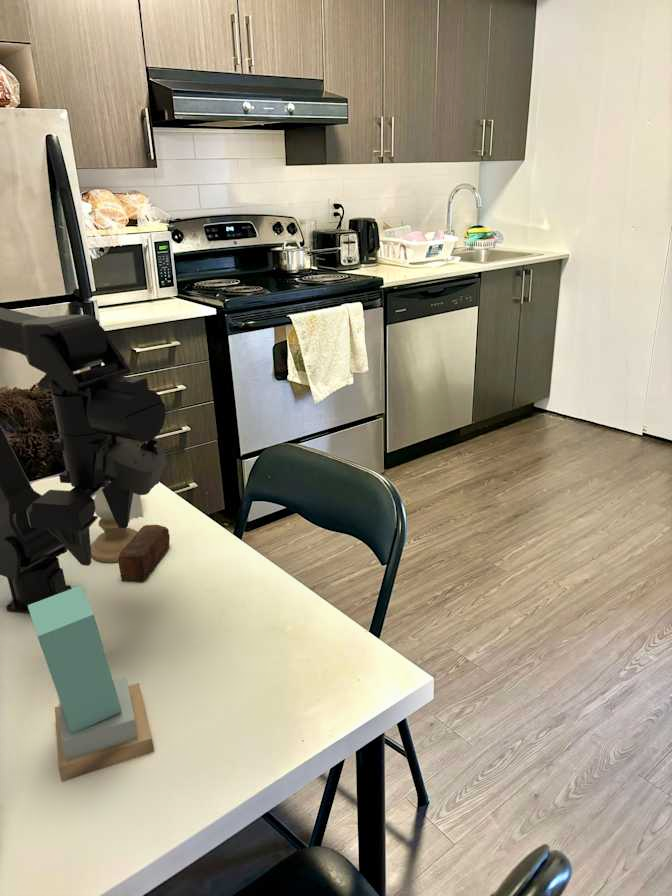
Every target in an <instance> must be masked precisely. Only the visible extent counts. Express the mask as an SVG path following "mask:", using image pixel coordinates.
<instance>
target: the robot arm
mask: <svg viewBox="0 0 672 896" xmlns="http://www.w3.org/2000/svg"><path fill="white" fill-rule="evenodd" d="M0 349H2V350H3V349H4V350H7V351H11V352H14V353H18V354H21V355H23V356H24V357H25V358H26V360H27V364H28V365H29V366H30V367H32V368H35V369H36V370H38V371H40V372H43V373H44V374H45V375H44V376H43V377H42V378H41V379H40V380H39V381H38V382H37V386H38V388H39V389H42V390H48V391H50V392H51V399H52V403H53V409H54V414H55V419H56V424H57V430H58V435H59V437H58V438H56V439H54V440H53V441H52V445H53V446H52V447H53V451H62V455H63V460H64V466H65V470H64V471H62V472H61V473H59V474H58V477H59V481H60V483H62V484H71V486H72V487H73V488H72V489H70V490H62V489H49V490H48V491H46V492H45V493H43V494H41V493H39V492H37V491H36V490H34V488H33V487H32V485H31V483H30V481H29V479H28V477H27V476H26V472H25V471H24V469H23V467H22V465H21V463H20V461H19V459H18V457H17V454H16V453H15V451H14V450H13V448H12V445H11V444H10V442H9V440H8V438H7V436H6V434H5V431H4V429H3V428H2V426H1V424H0V576H2V577H4V578H7V582H8V586H9V589H10V594H11V599H12V600H11V601H10V602H9V603H8V604H6V605H5V609H6V611H9V612H19V613H21V612H22V613H27V614H30V612H29V609H28V605H30V604H32V603H35V602H38V601H40V600H43V599H46V598H48V597H51V596H54V595H56V594H59V593H62V592H65V591H67V590H70V589H73V588H72V586H71V585H68V584H67V583H66V578H65V574H64V569H63V568H61V566H60V562H59V558H58V557H59V556H61V555H62V554H65V553H67V552H68V551H69V553H70V554H71V555H72V556H73V557H74V558H75V560H76V561H77V562H78V563H79V564H80V565H81V566H86V567H87V566H89V567H90V565H91V564H92V556H91V535H90V533H91V532H90V527H91V526H92V525H93V524H94V523H95V522H96V520H97V519H98V518H99V516H97V515H96V516H95V509H96V508H95V502H94V498H95V495H96V494H97V493H98V492H99V491H101V490H102V491H103V494H104V496H105V498H106V501H107V503H108V505H109V508H110V510H111V513H112V515H113V517H114V519H115V521H116V523H117V525H118V527H119V528H129V523H130V521H129V516H130V510H131V504H132V498H133V493H135V494H138V495H140V496H146V495H148V494H149V493H150V492H151V490H152V489H153V488H154V487H155V486H156V485H158V484H159V483H160V480H161V477H162V472H163V469H164V468H165V467H166V466H167V465H168V460H167V455H166V453H165V447H164V444H163V443H164V442H163V440H161V439H159V438H156V437H157V436H158V435H159V434H160V432H161V430H163V426H164V424H165V421H166V405H165V403H164V402H163V400H162V398H161V396H160V395H159V393H158V392H156V390H153V389H150V388H149V384H148V379H147V378H145V377H140V376H139V377H138V376H136V377H128V375H131V373H132V371H131V369H130V367H129V365H128V364H127V361H125V357H124V356H123V355H122V354H121V352H119V350H118V349H117V347H116V345H115V343H113V341H112V340H111V338H110V335H108V333H107V332H106V330H105V329H104V328H103V326H101V325H100V321H99V319H97V318H95V317H94V316H92V315H90V314H66V315H57V316H56V315H54V316H38V315H34V314H29V313H25V312H21V311H17V310H12V309H8V308H4V307H0ZM100 364H103V365H100ZM97 365H100V366H97ZM95 366H97V367H95ZM91 367H94V368H91ZM87 368H91V369H87ZM84 369H87V370H84ZM81 370H84V371H81ZM77 371H81V372H77ZM76 372H77V373H76ZM123 439H126V440H129V441H130V440H131V441H135V443H134V444H133V443H131V444H130V443H125V441H124V440H123ZM136 441H137V442H141V443H142V444H139V443H137V442H136ZM93 497H94V498H93ZM128 522H129V523H128Z"/></svg>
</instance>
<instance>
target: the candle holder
mask: <svg viewBox="0 0 672 896" xmlns="http://www.w3.org/2000/svg"><path fill="white" fill-rule="evenodd" d="M93 499H94V502H95V508H96V509H95V512H94V514H96V516H98V518H100V519H99V520H98V524H97V525H98V526H99V528H101V529H102V530H103V532H102V533H100V534H99V535H98V536H97V537H96V538H95V540H94V541H93V542H92V543H90V545H91V559H93V560H95V561H98V562H99V563H100V562H101V563H118V559H119V554H120V553H121V551H122V550H123V549H124V548H125V546H127V544H128V543H129V542H130V541H131V540H132V539H133V537H134V536H135V535H136V534H137V533H138V530H136V529H134V528H130V527H127V528H119V527H118V525H117V523H116V521H115V519H114V517H113V515H112V513H111V510H110V508H109V505H108V503H107V501H106V498H105V496H104V494H103V491H102V490H101V491H99V492H98V493H97V494H96V495H95V496H94V498H93ZM130 521H131V519H130V517H129V522H128V524H129V523H130Z"/></svg>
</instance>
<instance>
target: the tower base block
mask: <svg viewBox="0 0 672 896" xmlns="http://www.w3.org/2000/svg"><path fill="white" fill-rule="evenodd" d="M128 688H129V693H130V698H131V703H132V708H133V713H134V718H135V724H136V729H137V735H138V738H137V739H134V740H131V741H128V742H125V743H121V744H118V745H115V746H112V747H109V748H105V749H102V750H99V751H96V752H93V753H89V754H86V755H83V756H80V757H77V758H73V759H70V760H67V761H66V760H65V756H64V752H63V747H62V743H61V730H60V713H59V705H57V706H55V707H54V713H55V714H54V715H55V716H54V717H55V730H56V733H55V735H56V748H57V750H56V751H57V765H58V766H57V767H58V771H59V776H60V780H61V783H63V782H66V781H69V780H72V779H75V778H78V777H81V776H83V775H87V774H90V773H93V772H97V771H99V770H102V769H105V768H108V767H112V766H114V765H118V764H121V763H124V762H126V761H130V760H133V759H136V758H139V757H142V756H145V755H147V754H151V753H153V752H155V749H154V743H153V742H154V741H153V737H152V732H151V728H150V724H149V720H148V714H147V711H146V707H145V703H144V702H145V701H144V700H143V694H142V690H141V685H140V682H139V683H134V684H131V685H128Z"/></svg>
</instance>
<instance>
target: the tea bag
mask: <svg viewBox="0 0 672 896" xmlns="http://www.w3.org/2000/svg"><path fill="white" fill-rule="evenodd" d="M143 516H144V515H143V508H142V499H141V495H138V494H135V493H133V498H132V504H131V510H130V516H129V517H130V520H133V519H132V518H136V519H139V518H138V517H142V518H143Z"/></svg>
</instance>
